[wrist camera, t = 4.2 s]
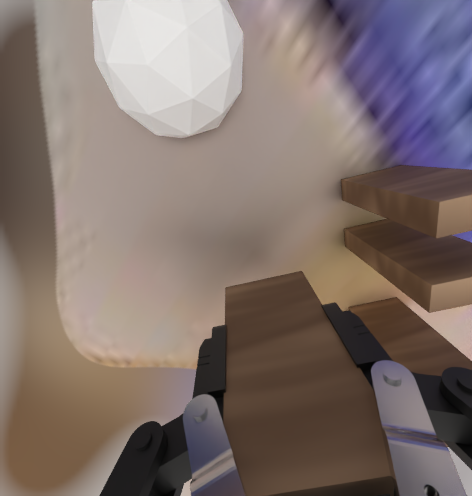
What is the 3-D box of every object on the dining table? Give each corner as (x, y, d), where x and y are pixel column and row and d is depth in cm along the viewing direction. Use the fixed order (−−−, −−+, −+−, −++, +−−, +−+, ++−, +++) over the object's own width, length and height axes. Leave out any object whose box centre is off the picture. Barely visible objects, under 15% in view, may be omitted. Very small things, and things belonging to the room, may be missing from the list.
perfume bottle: (66, 102, 14) (108, -156, 11) (184, 153, 20) (231, -12, 17) (90, 94, 9) (179, -398, 6) (243, 167, 14) (324, -70, 12)
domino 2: (341, 179, 20) (439, 202, 11) (400, 165, 20) (555, 175, 10) (342, 200, 20) (436, 238, 11) (400, 186, 20) (545, 214, 11)
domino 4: (348, 307, 25) (420, 398, 16) (396, 297, 25) (498, 384, 15) (349, 320, 26) (419, 415, 16) (396, 311, 25) (493, 402, 16)
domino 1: (225, 287, 15) (221, 502, 6) (301, 270, 15) (421, 470, 6) (232, 309, 16) (237, 531, 7) (304, 293, 16) (416, 505, 6)
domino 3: (344, 228, 22) (431, 285, 12) (399, 216, 21) (531, 264, 12) (345, 246, 22) (429, 312, 13) (398, 234, 22) (523, 293, 13)
